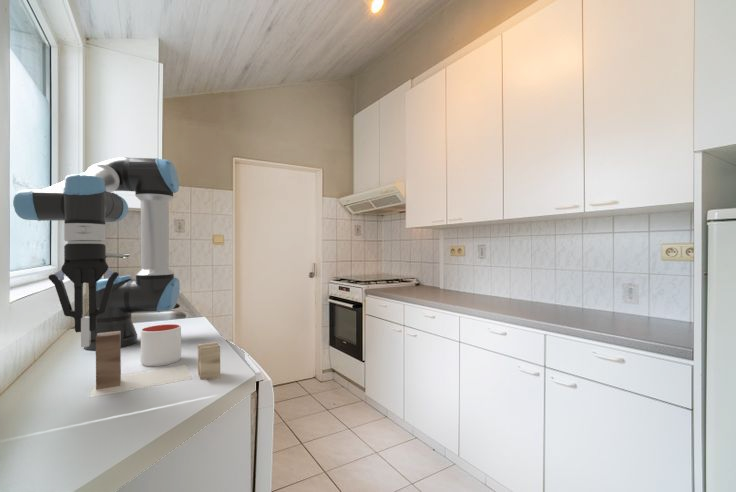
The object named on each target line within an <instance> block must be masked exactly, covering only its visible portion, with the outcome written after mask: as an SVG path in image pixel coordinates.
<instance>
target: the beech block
mask: <svg viewBox="0 0 736 492" xmlns="http://www.w3.org/2000/svg"><path fill="white" fill-rule="evenodd" d="M197 375H198V377H199V379H200V380H207V381H210V380H215V379H221V345H220V344H219V343H218V341H215V342H207V343H200V344H199V343H198V344H197Z"/></svg>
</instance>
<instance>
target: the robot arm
mask: <svg viewBox="0 0 736 492" xmlns="http://www.w3.org/2000/svg"><path fill="white" fill-rule="evenodd" d="M179 188H180V181H179V176H178V172H177V169H176V166H175V164H174V163H173V162H172V161H170V159H163V158H158V157H156V158H152V157H150V158H149V157H148V158H145V157H127V156H125V157H116V158H111V159H107V160H104V161H101V162H98V163H94V164H91V166H89V167H88V168H87V170H86V171H85V172H82V173H79V174H76V173H75V174H70V175H66V176H65V178H64V180H63V181H61V182H58V183H56V184H53V185H51V186H47V187H46V188H42V189H34V188H32V189H21V190H19V191H17V192H16V193H15V194H14V196H13V201H12V202H13V203H12V204H13V209H14V213H16V215H17V216H18V217H19V218H20V219H23V220H27V221H38V222H41V221H47V222H48V221H64V222H63V223H64V224H63V225H64V227H63V231H64V232H63V233H64V235H63V240H64V241H65V242H67V243H65V245H64V246H63V247H64V248H63V249H64V251H63V252H64V253H63V256H64V257H63V260H64V262H63V265H62V266H61V267H60V268H61V269H60V270H58V271H57V272H55V273H51V274H49V275H48V280H49V281H51V283H52V284H53V286H55V290H56V293H57V297H58V299H59V302H60V305H61V308H62V312H63V315H64V316H65V317H70V318H74V331H75V333H80V348H83V349H84V350H87V351H96V336H97V334H98V333H105V332H114V331H121V348H122V347H126V346H131V345H133V344H136V343H137V342H138V333H137V330H136V328H135V325H134V323H133V320H132V314H133V313H135V314H136V313H137V314H139V313H153V312H154V313H160V312H169V311H171V310H173V309H174V308H175V307H176V304H177V302H178V300H179V295H180V289H181V288H180V287H181V284H180V280H179V278H178V277H175V272H173V271H172V270H171V269H170V249H169V248H170V242H169V241H170V240H169V239H170V229H169V228H170V227H169V224H170V221H169V219H170V218H169V217H170V212H169V211H170V209H169V204H170V201H171V200H173V199H174V194H176V193H178V192H179V190H180V189H179ZM115 192H134V193H135V195H134V196H135V197H136V198H137V199H138V200H140V269H139V271H138V272H137V273H136V274H135V278H134V279H133V278H132V276H131V275H123V276H120V273H119V272H118V271H115V270H112V269H111V268H110V267H109V265H108V263H107V259H106V257H107V256H106V253H107V252H106V251H107V250H106V247H107V246H106V245H105V244H104V243H103V242H106V236H107V235H106V233H107V232H106V228H107V227H106V225H107V224H106V223H113V222H114V223H116V222H119V221H122V220H123V219H124V218H125V217H127V215H128V212H129V205H128V202H127V201H126V199H125V198H123V197H122V196H120V195H119V194H117V193H115ZM105 274H106V276H105V277H106V278H102V277H103V276H104V275H105ZM64 276H66V277H67V278H68V279H69V280H70V282H72V283H73V289H74V297H73V298H74V299H73V300H74V302H73V303H74V310H73V308H72V305H71V301H70V298H69V296H68V293H67V292H68V291H67V289H66V285H65V283H64V280H65V277H64ZM101 278H102V279H101ZM84 283H85V284H88V286H87V287H88V315H87V316H85V315H84V313H83V312H84V311H83V307H84V305H83V303H84V299H83V298H84V297H83V295H84V293H83V291H84V290H83V288H84Z"/></svg>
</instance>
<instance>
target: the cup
mask: <svg viewBox="0 0 736 492" xmlns="http://www.w3.org/2000/svg"><path fill="white" fill-rule="evenodd" d="M181 358H182V326H181V325H180V324H174V323H173V324H171V323H170V324H157V325H152V326H147V327H144V328H141V330H140V363H141V365H142V366H144V367H150V368H151V367H152V368H153V367H162V366H167V365H171V364H175V363H177V362H178V361H180V359H181Z"/></svg>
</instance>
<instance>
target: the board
mask: <svg viewBox="0 0 736 492" xmlns="http://www.w3.org/2000/svg"><path fill="white" fill-rule="evenodd" d="M189 371H190V370H189V368H188V366H187V364H183V365H177V366H171V367H165V368H160V369H151V370H148V371H147V370H146V371H141V372H134V373H128V374H121V383H120V386H118V387H112V388H106V389H101V390H96V379H95V381H94V384H93V387H92V390H91V391H90V392H91V393H90V396H89V398H94V397H95V398H96V397H101V396H106V395H111V394H116V393H122V392H128V391H133V390H139V389H145V388H149V387H151V388H152V387H156V386H160V385H167V384H172V383H177V382H182V381H188V380H193V378H192V375H191V374H190V372H189Z"/></svg>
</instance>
